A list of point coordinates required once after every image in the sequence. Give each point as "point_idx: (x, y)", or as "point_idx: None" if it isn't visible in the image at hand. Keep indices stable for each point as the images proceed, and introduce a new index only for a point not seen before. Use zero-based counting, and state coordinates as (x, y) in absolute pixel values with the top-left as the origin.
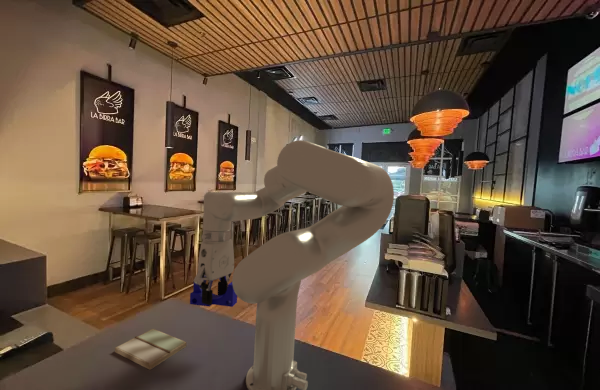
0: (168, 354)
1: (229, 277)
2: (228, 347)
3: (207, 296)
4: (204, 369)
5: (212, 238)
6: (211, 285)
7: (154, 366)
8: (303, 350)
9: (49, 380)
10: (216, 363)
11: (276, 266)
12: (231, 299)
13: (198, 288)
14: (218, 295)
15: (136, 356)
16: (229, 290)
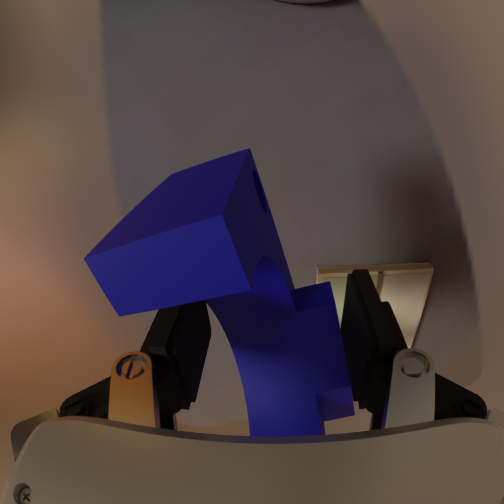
0: (382, 269)
1: (96, 383)
2: (244, 147)
3: (392, 324)
4: (374, 136)
5: None
6: (393, 387)
7: (418, 263)
8: None
9: (474, 359)
10: (335, 121)
11: None
12: (248, 171)
13: (321, 424)
14: (227, 318)
15: (417, 318)
16: (249, 229)
